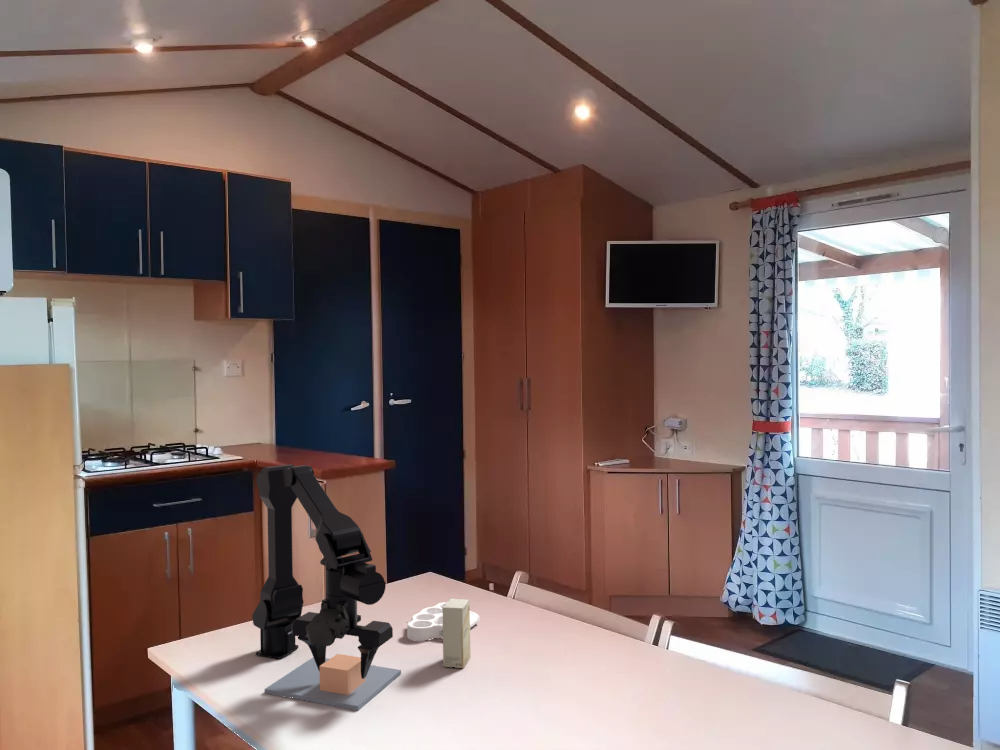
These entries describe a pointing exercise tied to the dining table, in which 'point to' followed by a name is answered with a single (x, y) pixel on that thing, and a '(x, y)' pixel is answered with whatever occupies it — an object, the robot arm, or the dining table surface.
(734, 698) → the dining table surface
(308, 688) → the base plate
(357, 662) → the orange block
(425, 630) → the white egg tray
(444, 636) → the skincare box
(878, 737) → the dining table surface
